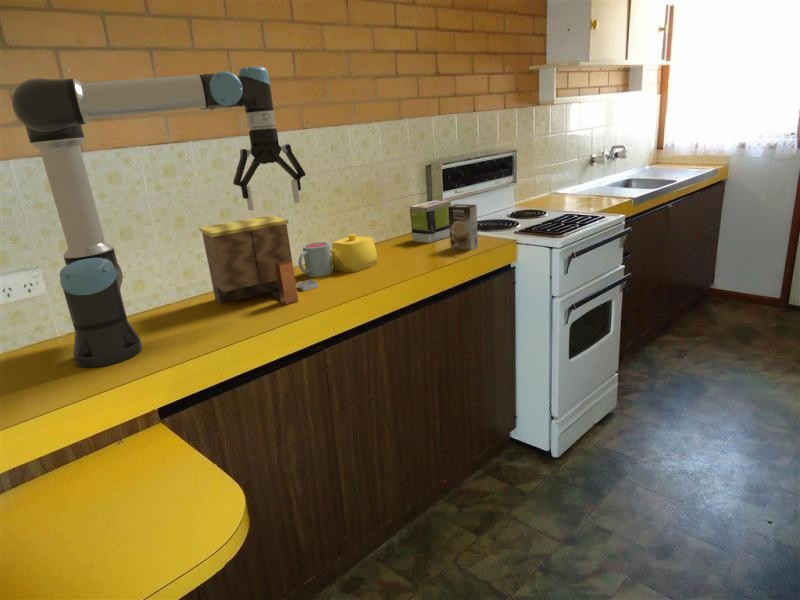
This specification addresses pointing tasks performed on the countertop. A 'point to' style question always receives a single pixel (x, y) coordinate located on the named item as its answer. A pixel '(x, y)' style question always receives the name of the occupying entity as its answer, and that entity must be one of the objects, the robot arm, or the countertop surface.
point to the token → (307, 285)
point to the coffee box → (463, 226)
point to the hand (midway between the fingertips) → (274, 206)
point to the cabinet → (245, 256)
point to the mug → (316, 259)
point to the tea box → (430, 221)
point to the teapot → (353, 253)
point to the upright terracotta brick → (285, 283)
